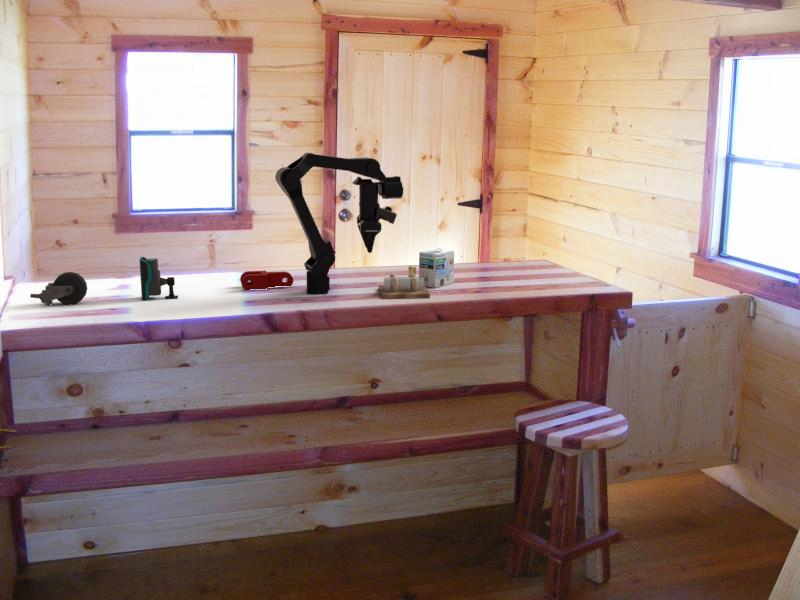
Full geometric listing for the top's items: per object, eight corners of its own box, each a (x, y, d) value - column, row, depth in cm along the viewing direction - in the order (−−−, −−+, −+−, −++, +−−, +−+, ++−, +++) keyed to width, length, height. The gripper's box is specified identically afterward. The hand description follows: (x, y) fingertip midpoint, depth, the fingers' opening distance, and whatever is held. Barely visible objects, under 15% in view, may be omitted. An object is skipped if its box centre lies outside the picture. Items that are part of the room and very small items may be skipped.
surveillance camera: (175, 258, 262) (139, 259, 260) (177, 299, 264) (141, 300, 263) (176, 255, 267) (141, 256, 265) (178, 295, 270) (143, 296, 268)
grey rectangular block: (423, 288, 277) (423, 276, 276) (424, 290, 274) (424, 278, 273) (383, 288, 276) (383, 277, 275) (384, 290, 273) (384, 279, 272)
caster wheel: (87, 304, 262) (32, 301, 259) (88, 271, 260) (33, 267, 257) (84, 309, 256) (28, 305, 253) (85, 275, 254) (29, 271, 251)
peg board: (382, 298, 268) (382, 281, 266) (378, 288, 281) (378, 272, 280) (429, 297, 269) (430, 280, 268) (423, 288, 283) (423, 271, 282)
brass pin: (408, 286, 286) (408, 267, 285) (407, 284, 288) (407, 266, 287) (416, 286, 286) (416, 267, 285) (415, 284, 289) (415, 265, 287)
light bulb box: (435, 288, 283) (435, 254, 281) (417, 285, 287) (418, 252, 285) (454, 283, 291) (455, 250, 289) (437, 280, 295) (437, 247, 293)
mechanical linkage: (241, 291, 277) (241, 275, 276) (240, 287, 284) (240, 271, 282) (294, 289, 280) (293, 273, 279) (291, 285, 287) (291, 269, 286)
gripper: (398, 202, 268) (398, 254, 271) (391, 196, 286) (391, 245, 289) (360, 202, 266) (360, 255, 270) (356, 196, 285) (356, 245, 288)
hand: (368, 250), depth 279 cm, fingers open, 9 cm apart
